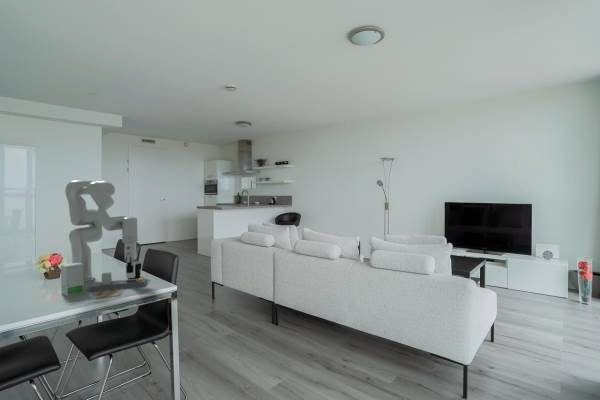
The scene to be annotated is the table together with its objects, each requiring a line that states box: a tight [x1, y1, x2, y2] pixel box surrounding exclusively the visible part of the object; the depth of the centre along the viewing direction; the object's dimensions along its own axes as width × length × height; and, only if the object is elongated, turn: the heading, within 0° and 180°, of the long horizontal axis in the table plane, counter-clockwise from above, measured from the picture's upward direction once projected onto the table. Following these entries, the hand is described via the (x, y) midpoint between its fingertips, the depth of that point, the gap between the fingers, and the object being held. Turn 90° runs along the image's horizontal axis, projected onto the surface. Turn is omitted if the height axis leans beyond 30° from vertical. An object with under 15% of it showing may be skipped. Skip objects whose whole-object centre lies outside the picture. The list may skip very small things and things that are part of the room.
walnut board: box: [95, 288, 125, 299], centre depth 164 cm, size 11×11×1 cm
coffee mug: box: [127, 260, 143, 280], centre depth 193 cm, size 12×9×10 cm
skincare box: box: [60, 262, 85, 297], centre depth 166 cm, size 8×7×16 cm
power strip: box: [89, 277, 147, 292], centre depth 176 cm, size 26×8×4 cm, turn 109°
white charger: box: [125, 261, 136, 279], centre depth 178 cm, size 4×3×8 cm
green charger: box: [101, 272, 113, 285], centre depth 174 cm, size 4×3×8 cm
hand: (130, 271), depth 178 cm, fingers closed on white charger, 3 cm apart
